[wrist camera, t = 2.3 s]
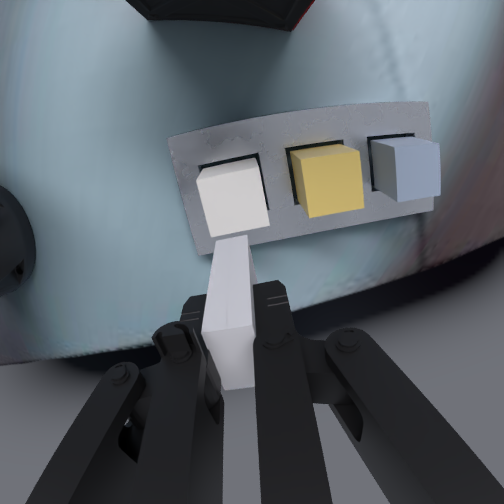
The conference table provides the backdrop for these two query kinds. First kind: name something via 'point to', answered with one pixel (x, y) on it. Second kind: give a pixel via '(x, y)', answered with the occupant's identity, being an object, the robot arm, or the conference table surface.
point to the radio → (227, 11)
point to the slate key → (406, 168)
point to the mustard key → (328, 179)
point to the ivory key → (233, 197)
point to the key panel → (276, 167)
